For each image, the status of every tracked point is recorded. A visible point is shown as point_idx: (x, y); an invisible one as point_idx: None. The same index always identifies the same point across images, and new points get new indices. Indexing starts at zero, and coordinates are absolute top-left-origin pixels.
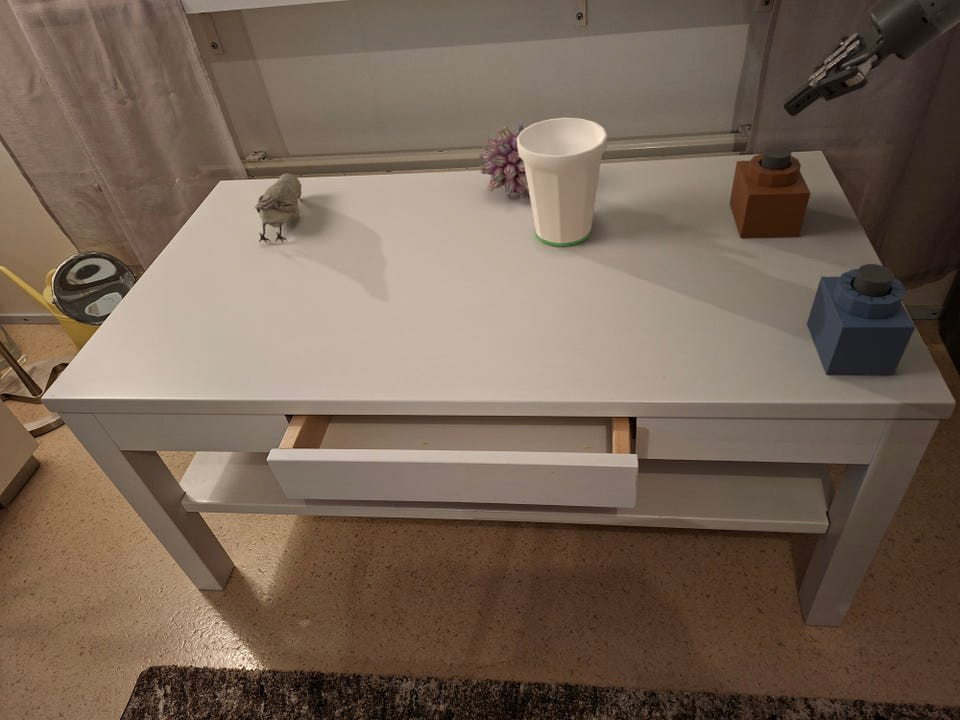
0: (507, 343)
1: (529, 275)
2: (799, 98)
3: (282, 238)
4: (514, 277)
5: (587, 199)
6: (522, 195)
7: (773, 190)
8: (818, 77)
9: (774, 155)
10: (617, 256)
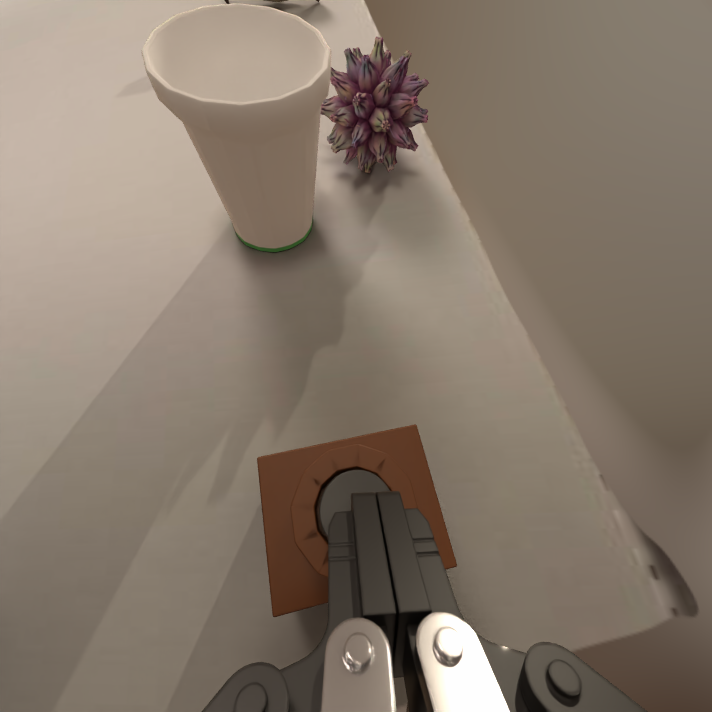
0: (16, 204)
1: (164, 203)
2: (329, 561)
3: (225, 1)
4: (160, 189)
5: (230, 193)
6: (345, 160)
7: (278, 514)
8: (366, 701)
9: (334, 501)
10: (211, 292)
